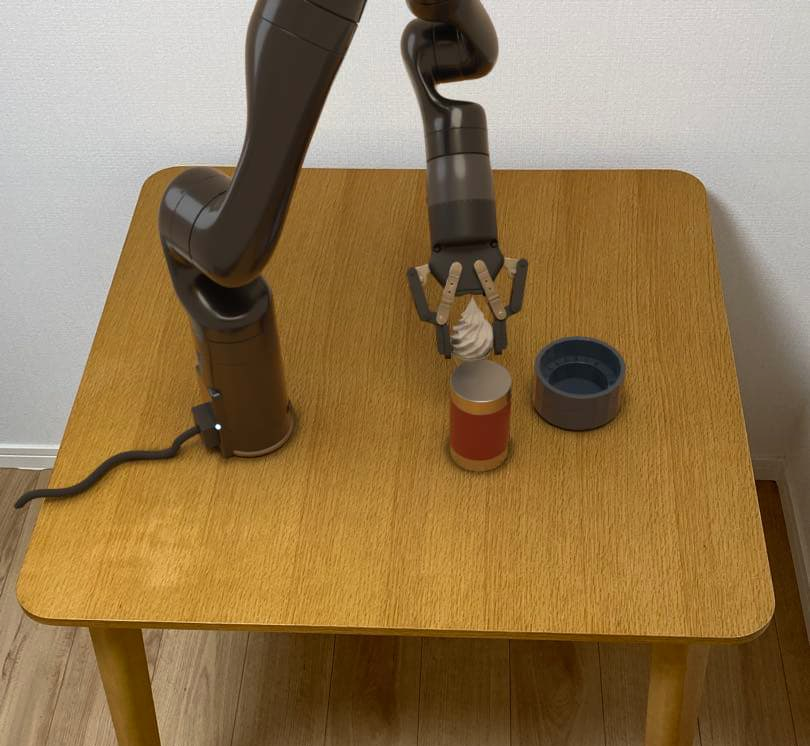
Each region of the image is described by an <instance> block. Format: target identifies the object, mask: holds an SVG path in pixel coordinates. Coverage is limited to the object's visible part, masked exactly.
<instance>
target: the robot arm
mask: <svg viewBox="0 0 810 746" xmlns="http://www.w3.org/2000/svg"><path fill="white" fill-rule="evenodd" d="M404 1H405V4H406V6H407V9H408V11H409V12H410V13H411V14H412V15H413V16H414V17H415V18H413V19H411V20H410V21H409V22H408V23H407V24H406V25H405V27H404V29H403V30H402V33H401V37H400V43H399V48H400V49H399V50H400V56H401V60H402V63H403V65H404V68H405V71H406V74H407V76H408V79H409V81H410V85H411V86H412V89H413V92H414V95H415V98H416V101H417V106H418V108H419V112H420V118H421V122H422V123H421V124H422V129H423V138H424V150H425V151H424V152H425V160H426V161H425V162H426V164H425V165H426V171H425V172H426V173H425V174H426V176H425V192H426V196H425V202H426V206H427V215H428V217H427V218H428V228H429V239H430V240H429V243H430V251H431V252H430V257H429V260H428V262H427V264H423V265H419V266H417V267H413V266H411V267H408V268H407V269H406V272H405V278H406V282H407V284H408V288H409V291H410V294H411V297H412V301H413V304H414V307H415V310H416V313H417V316H418V319H419V321H421V322H423V323H424V322H425V323H429V324H431V325H433V327H434V328H435V336H436V337H435V338H436V348H437V353H438V354H439V355H443V359H444V360H446V361H448V360H452V358H453V354H452V353H451V342H450V339H451V338H450V337H451V330H450V325H449V324H448V318H449V315H450V311H451V307H452V305H453V301H454V298H455V297H456V298H457V297H463V296H466V295H470V296H471V295H472V296H482V298H483V300H484V302H485V304H486V305H487V307H488V309H489V312H490V313H491V314H490V315H492V319H493V320H492V322H491V326H492V327H493V334H494V338H493V355H494V356H495V357H496V356H502V355H503V350H506V349H507V347H508V343H509V342H508V333H507V319H508V318H509V317H511V316H514V315H516V314H519V313H520V312H521V311H522V308H523V304H524V295H525V290H526V282H527V276H528V269H529V261H528V259H526V258H524V257H523V258H519V259H516V258H510V257H505V256H504V254H503V252H502V250H501V248H500V245H499V232H498V230H499V229H498V219H497V218H498V217H497V205H496V191H495V180H494V173H493V168H492V164H491V157H490V143H489V129H488V119H487V113H486V109H485V108H484V106H482V105H481V104H480V103H478V102H475V101H472V100H470V101H469V100H462V99H453V98H449V97H445V96H444V95H442V94H441V93H440V92H439V90H438V86H439V85H441V84H442V85H446V84H451V83H459V82H466V81H467V82H468V81H474V80H480V79H482V78H485V77H487V76H489V74H490V73H491V72H492V71H493V70H494V68H495V67H496V64H497V62H498V60H499V53H500V50H499V49H500V46H499V45H500V43H499V37H498V34H497V31H496V27H495V25H494V23H493V20H492V18H491V17H490V15H489V13H488V11H487V10H486V8H485V6H484V5H483V3H482V1H481V0H404ZM367 3H368V0H256V1H255V4H254V7H253V10H252V13H251V15H250V18H249V22H248V24H247V29H246V35H245V44H244V77H245V78H244V79H245V98H246V125H245V133H244V139H243V144H242V148H241V152H240V155H239V157H238V161H237V164H236V166H235V169H234V173H233V175H232V176H229V175H227V174H226V173H224V172H223V171H221V170H219V169H217V168H215V167H211V166H204V165H200V166H192V167H189V168H187V169H184V170H182V171H181V172H179V173H178V174H177V175H176V176H174V177H173V178H172V179H171V181H170V182H169V183H168V184H167V186H166V188H165V189H164V192H163V193H162V195H161V199H160V201H159V205H158V206H159V207H158V209H157V210H158V211H157V229H158V237H159V241H160V245H161V249H162V252H163V256H164V260H165V264H166V267H167V271H168V274H169V278H170V281H171V285H172V288H173V291H174V294H175V296H176V298H177V301H178V302H179V303H180V305H181V307H182V308H183V310H184V312H185V314H186V317H187V320H188V325H189V328H190V332H191V336H192V341H193V345H194V351H195V355H196V359H197V364H196V365H195V366H194V369H195V373H196V378H197V383H198V387H199V392H200V396H201V400H202V403H200V404H197V405H195V406H192V407H190V410H191V414H192V419H193V421H194V426H192V427H191V428H189V429H187V430H185V431H183V432H182V433H181V434H179V435H178V436H177V437H176V438H175V439H174V440H173V442H172V443H171V446H170V447H168V448H165V449H163V450H162V449H161V450H127V451H123V452H119V453H117V454H115V455H112V456H111V457H109V458H108V459H106V460H105V461H103V462H102V463H100V465H99V466H98V467H96V469H94V471H92V473H90V474H89V475H88V476H87V477H86V478H85V479H83V480H81V481H80V482H78V483H75V484H74V485H71V486H67V487H62V488H38V489H32V490H30V491H27V492H25V493H24V494H22V495H21V496H20V497H19V498H18V499H17V500H16V501H15V503H14V505H13V508H14V509H16V510H19V509H22V508H24V506H25V505H27V504H28V503H29V502H30V501H33V500H36V499H42V498H45V499H46V498H65V497H71V496H74V495H77V494H79V493H82V492H83V491H85V490H87V489H88V488H90V487H92V485H94V483H96V482H97V481H98V480H99V479H100V478H101V477H102V476H103V475H104V474H105V473H106V472H107V471H108V470H110V469H111V468H112V467H114V466H116V465H118V464H120V463H122V462H125V461H128V460H163V459H164V460H165V459H167V458H170V457H173V456H175V455H177V454H178V453H179V451H180V449H181V446H182V445H183V444H184V443H185V442H187V441H188V440H191V439H193V438H194V437H195V436H197V435H199V436H200V438H201V440H202V442H203V445H204V447H205V448H206V450H208V449H211V448H214V447H217V446H218V447H219V450H220V451H221V454H222V456H223V457H224V458H230V457H232V456H238V457H242V458H243V457H244V458H254V457H261V456H264V455H265V456H266V455H268V454H270V453H272V452H275V451H276V450H278V449H279V448H281V447H282V446H284V444H286V443H287V442H288V441H289V439H290V437H291V435H292V434H293V429H294V420H293V416H294V415H295V414H294V413H295V412H294V408H293V405H292V402H291V400H290V396H289V392H288V385H287V379H286V372H285V364H284V359H283V351H282V345H281V338H280V332H279V331H280V330H279V324H278V319H277V311H276V304H275V297H274V293H273V289H272V287H271V284H270V283H269V281H268V280H267V278H266V277H265V275H264V274H263V272H264V270H265V269H266V268H267V267H268V265H269V263H270V261H271V260H272V258H273V256H274V254H275V252H276V250H277V248H278V246H279V242H280V240H281V237H282V234H283V231H284V229H285V225H286V222H287V219H288V215H289V212H290V208H291V205H292V201H293V198H294V195H295V191H296V189H297V185H298V181H299V178H300V174H301V172H302V168H303V165H304V163H305V159H306V156H307V154H308V150H309V148H310V145H311V142H312V140H313V137H314V134H315V132H316V129H317V126H318V124H319V121H320V118H321V116H322V113H323V110H324V108H325V106H326V103H327V101H328V97H329V95H330V93H331V90H332V88H333V86H334V83H335V81H336V79H337V77H338V75H339V72H340V70H341V68H342V65H343V63H344V62H345V60H346V57H347V54H348V52H349V49H350V47H351V45H352V41H353V40H354V37H355V35H356V32H357V30H358V28H359V24H360V23H361V20H362V17H363V14H364V11H365V8H366V6H367ZM503 268H504V269H505V270H506V274H507V277H508V278H509V279H511V287H510V295H509V301H508V304H507V305H503V303H502V300H501V298H500V294H499V291H498V290H497V288H496V285H495V283H494V282H495V280H496V278H497V277H498V275H499V274H500V272H501V270H502V269H503ZM429 274H430V275H431V276H432V277H433V278H434V279H435V281H436V282H437V283H438V284H439V286H441V288H442V293H441V296H440V299H439V304H438V308H437V311H433V310H430V307H429V304H428V301H427V297H426V295H425V291H424V288H423V287H424V286H425V285H426V284H427V281H428V280H427V277H428V275H429Z"/></svg>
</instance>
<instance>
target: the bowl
mask: <svg viewBox="0 0 810 746" xmlns="http://www.w3.org/2000/svg"><path fill="white" fill-rule="evenodd" d="M533 365H534V366H533V377H532V390H531V391H532V392H531V399H532V403H533V408H534V409H535V410H536V412H537V413H538V414H539V416H540V417H541V418H543V419H544V420H545V421H546V422H548V423H550V424H552V425H554V426H555V427H559V428H562V429H565V430H574V431H584V430H592V429H596V428H599V427H601V426H604V425H606V424H608V423H609V422H610V421H611V420H613V419H615V417H616V416H617V414H618V412H619V411H620V409H621V406H622V400H623V395H624V393H623V392H624V386H625V379H626V373H627V372H626V371H627V365H626V362H625V360H624V357H623V355H622V354H621V353H620V352H619V351H618V350H617V348H615V347H614V346H612V345H611V344H609V343H607V342H606V341H604V340H601V339H597V338H594V337H590V336H582V335H573V336H565V337H561V338H558V339H556V340H552V341H550V342H549V343H547V344H546V345H544V346H543V347H542V348H541V349H540V351H539V352H538V353H537V354H536V356H535V359H534V364H533Z"/></svg>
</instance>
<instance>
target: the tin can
mask: <svg viewBox="0 0 810 746" xmlns="http://www.w3.org/2000/svg"><path fill="white" fill-rule="evenodd" d="M512 382H513V381H512V376H511V374H510V372H509V371H508V369H507V368H505V366H503V365H502V364H500V363H498V362H496V361H493V360H488V359H487V360H472V361H468V362H465V363H463V364H461V365H460V366H458V367H457V366H456V368H455V369H454V370H453V371H452V373H451V375H450V378H449V454H450V458H451V459H452V460H453V461H454V463H455V464H456V465H457V466H459V467H460V468H462V469H463V470H466V471H470V472H477V473H480V472H481V473H483V472H488V471H492V470H494V469H496V468H498V467H499V466H501V465H502V464H503V463H504V462H505V461H506V459H507V457H508V453H509V443H510V442H509V441H510V429H511V428H510V427H511V411H512V410H511V409H512V408H511V407H512Z"/></svg>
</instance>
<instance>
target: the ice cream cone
mask: <svg viewBox="0 0 810 746" xmlns="http://www.w3.org/2000/svg"><path fill="white" fill-rule="evenodd" d="M460 316H462V318H459V319H457V322H458V325H453V326H452V331H455V333H453V334H452V335H450V342H451V355H452V358H453V360H454V362H455V364H456V368H457V367H458V366H460V365H461V364H463V363H465V362H468V361H472V360H488V358H489V356H490V354H491V352H492V351H493V350H494V347H493V338H494V334H493V327H492V324H491V323H490V322H489V321H488V320H487V319H486V318H485V316H484V313H483V311H481V309H479V307H478V305H477V303H476V301H475V299H474V297H473V296H472V297H471V298H470V301H469V302H468V304H467V306H466V308H465V310H464V311H463V312H462V313H460Z"/></svg>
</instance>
